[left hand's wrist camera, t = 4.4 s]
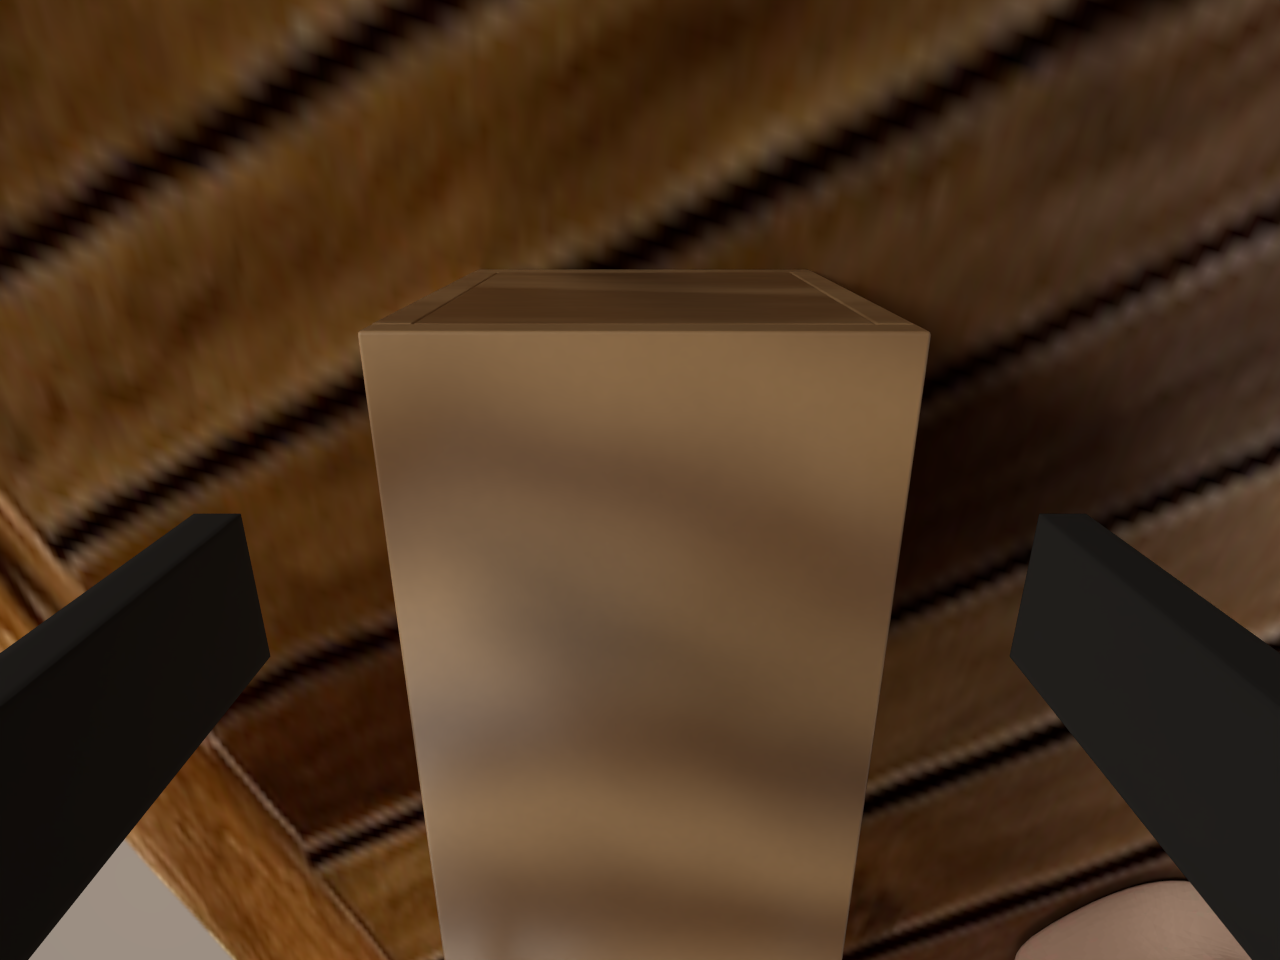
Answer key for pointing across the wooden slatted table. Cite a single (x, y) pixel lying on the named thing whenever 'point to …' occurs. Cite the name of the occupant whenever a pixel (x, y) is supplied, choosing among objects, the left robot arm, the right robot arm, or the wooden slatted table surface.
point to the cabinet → (643, 599)
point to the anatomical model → (1138, 929)
